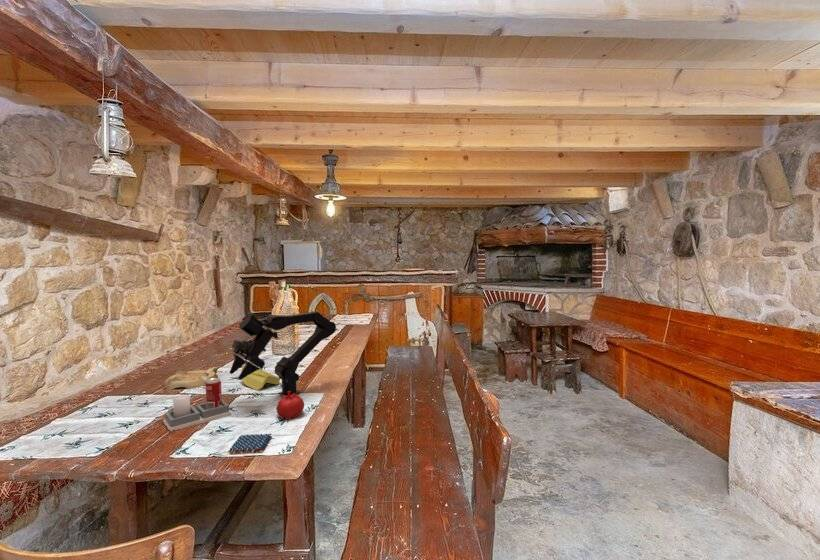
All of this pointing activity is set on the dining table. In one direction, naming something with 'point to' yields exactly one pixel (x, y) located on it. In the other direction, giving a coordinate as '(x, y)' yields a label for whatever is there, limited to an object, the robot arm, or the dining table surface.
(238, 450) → the woven mat
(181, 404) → the compartment tray
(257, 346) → the robot arm
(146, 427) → the dining table surface
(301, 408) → the pomegranate
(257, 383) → the plastic component
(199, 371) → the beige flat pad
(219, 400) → the soda can
